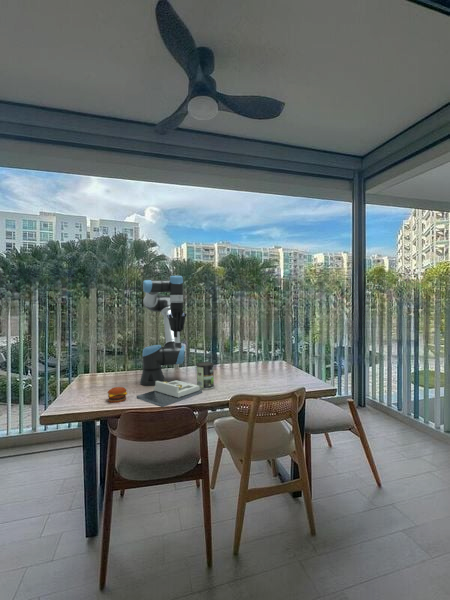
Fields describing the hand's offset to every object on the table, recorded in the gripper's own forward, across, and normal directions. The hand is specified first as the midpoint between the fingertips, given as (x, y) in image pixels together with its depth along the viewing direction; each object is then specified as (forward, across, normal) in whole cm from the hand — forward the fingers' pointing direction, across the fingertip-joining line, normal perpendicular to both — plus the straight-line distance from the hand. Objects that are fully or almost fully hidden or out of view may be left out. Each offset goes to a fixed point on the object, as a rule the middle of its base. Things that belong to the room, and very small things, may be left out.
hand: (177, 342), depth 178 cm
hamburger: (+28, -32, +11) cm, 44 cm away
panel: (+26, -5, -5) cm, 27 cm away
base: (+28, -10, -5) cm, 30 cm away
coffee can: (+28, +14, -9) cm, 32 cm away
